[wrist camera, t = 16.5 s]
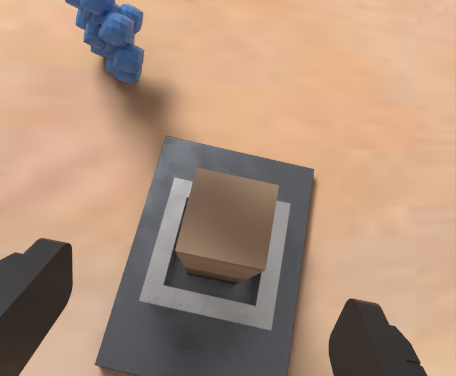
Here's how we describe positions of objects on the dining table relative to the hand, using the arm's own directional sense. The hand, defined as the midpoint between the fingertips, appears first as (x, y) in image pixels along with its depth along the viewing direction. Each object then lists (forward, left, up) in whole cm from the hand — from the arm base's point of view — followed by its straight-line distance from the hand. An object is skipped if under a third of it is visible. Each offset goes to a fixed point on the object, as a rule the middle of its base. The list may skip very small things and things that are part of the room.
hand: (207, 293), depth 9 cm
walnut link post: (+4, 0, -21) cm, 22 cm away
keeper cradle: (+4, 0, -22) cm, 23 cm away
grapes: (+23, +15, -22) cm, 35 cm away
